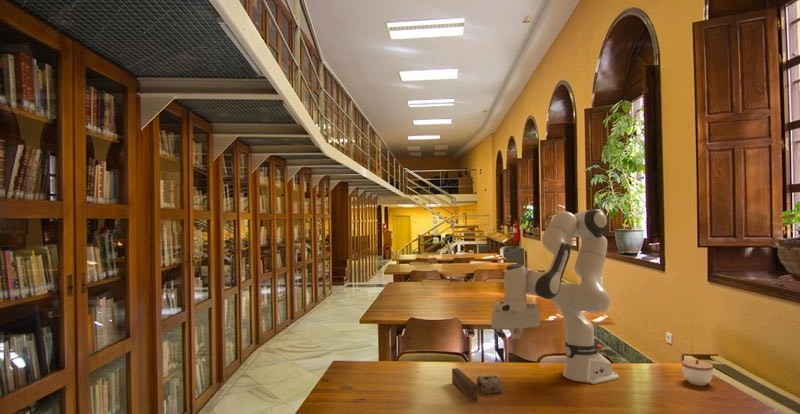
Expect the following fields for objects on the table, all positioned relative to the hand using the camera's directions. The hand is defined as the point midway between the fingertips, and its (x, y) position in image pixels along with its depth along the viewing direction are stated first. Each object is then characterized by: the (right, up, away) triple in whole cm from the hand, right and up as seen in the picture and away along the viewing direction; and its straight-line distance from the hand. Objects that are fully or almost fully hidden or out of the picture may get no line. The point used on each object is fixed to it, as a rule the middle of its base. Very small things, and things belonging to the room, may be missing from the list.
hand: (515, 339), depth 188 cm
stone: (-11, -20, -3) cm, 23 cm away
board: (-22, -19, -6) cm, 29 cm away
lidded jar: (+74, -19, +2) cm, 77 cm away
